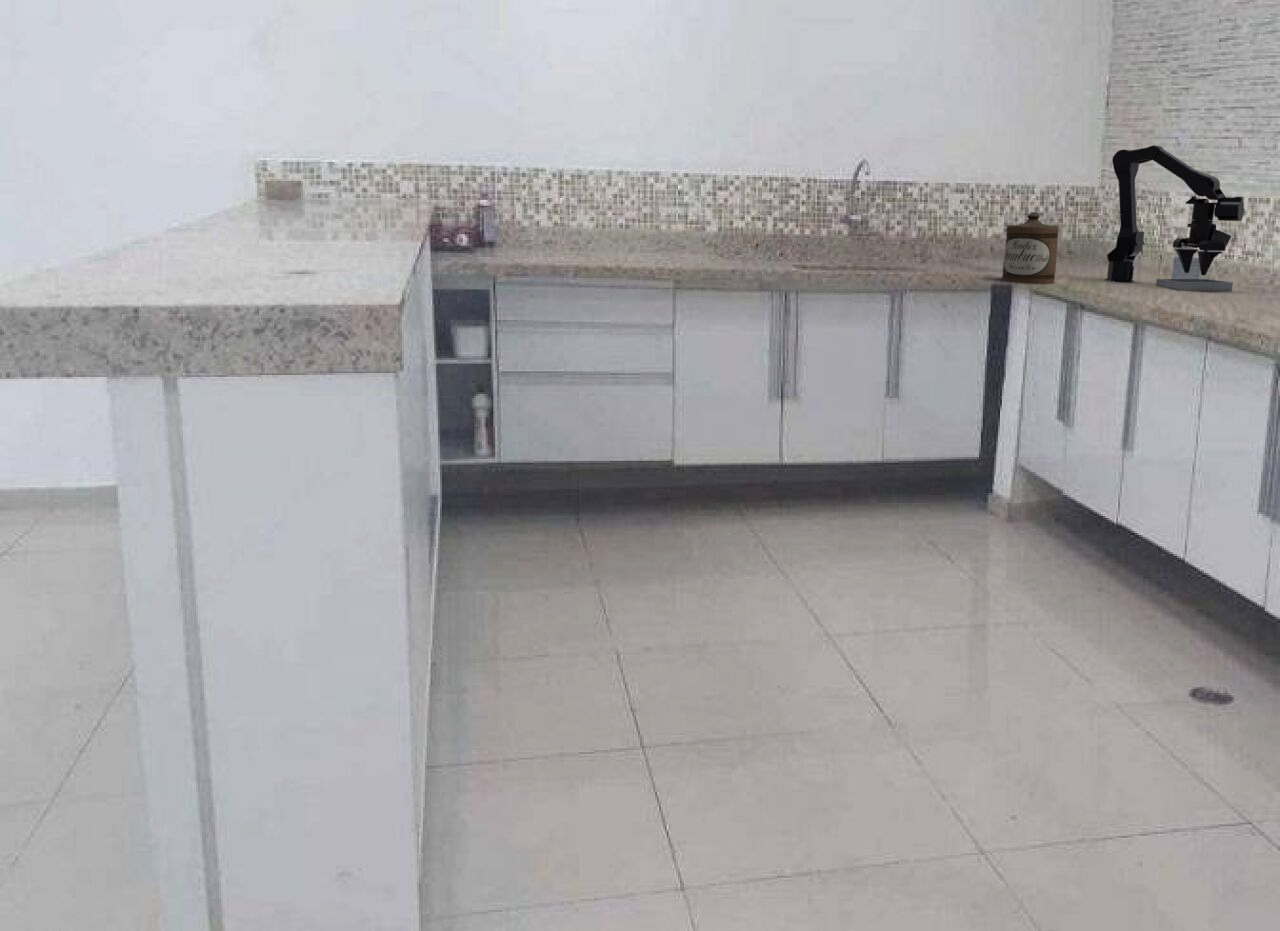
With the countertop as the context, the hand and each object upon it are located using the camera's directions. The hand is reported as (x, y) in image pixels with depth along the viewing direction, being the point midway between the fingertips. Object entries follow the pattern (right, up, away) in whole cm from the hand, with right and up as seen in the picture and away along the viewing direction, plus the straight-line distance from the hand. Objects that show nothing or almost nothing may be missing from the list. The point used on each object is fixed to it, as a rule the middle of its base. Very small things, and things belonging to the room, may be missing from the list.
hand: (1194, 274), depth 321 cm
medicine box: (+6, 0, +18) cm, 19 cm away
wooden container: (-49, -4, +2) cm, 49 cm away
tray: (0, -4, +1) cm, 4 cm away
